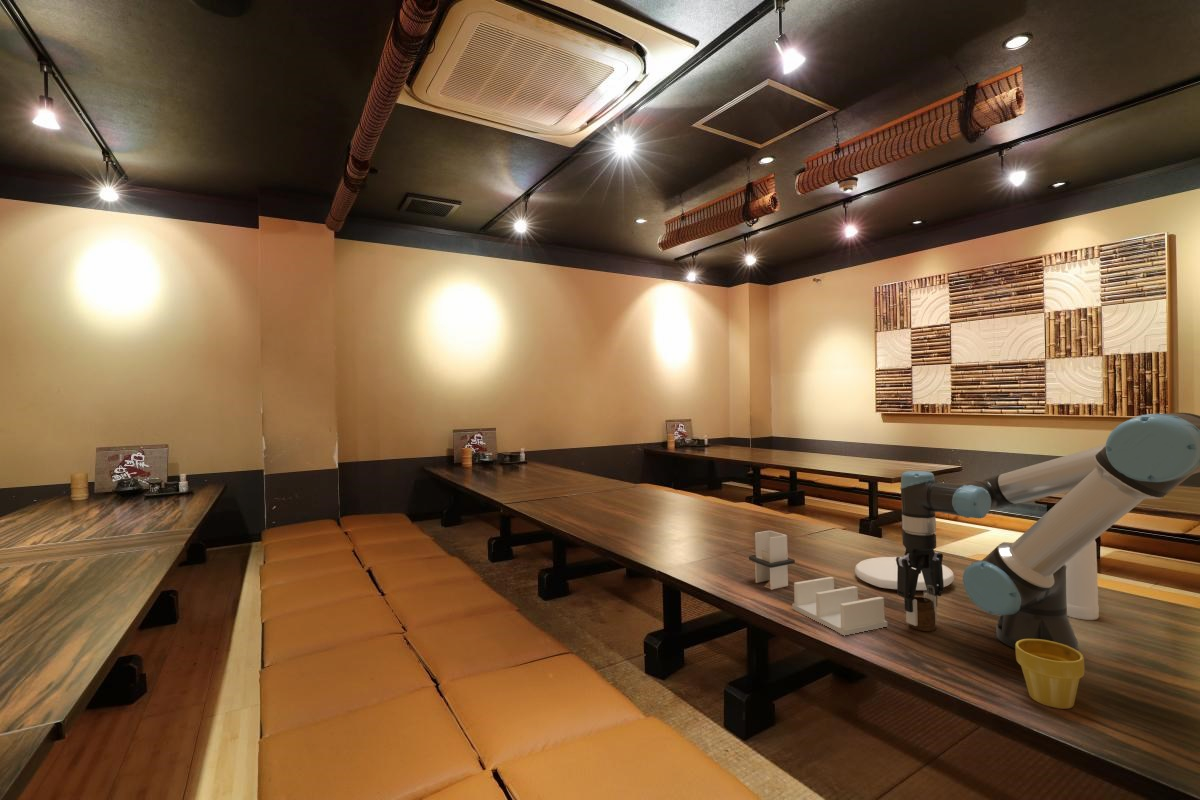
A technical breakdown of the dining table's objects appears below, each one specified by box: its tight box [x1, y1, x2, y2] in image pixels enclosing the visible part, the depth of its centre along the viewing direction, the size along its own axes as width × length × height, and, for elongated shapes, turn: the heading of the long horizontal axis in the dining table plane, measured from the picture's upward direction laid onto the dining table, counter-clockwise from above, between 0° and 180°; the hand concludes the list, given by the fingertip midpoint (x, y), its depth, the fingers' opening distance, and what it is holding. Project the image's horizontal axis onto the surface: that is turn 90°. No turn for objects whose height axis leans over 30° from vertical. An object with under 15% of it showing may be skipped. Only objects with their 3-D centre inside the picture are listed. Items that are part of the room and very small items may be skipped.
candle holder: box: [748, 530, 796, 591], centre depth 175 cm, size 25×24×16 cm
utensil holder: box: [908, 585, 936, 632], centre depth 140 cm, size 6×6×12 cm
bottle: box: [1065, 539, 1100, 621], centre depth 145 cm, size 8×8×30 cm
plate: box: [854, 556, 955, 591], centre depth 175 cm, size 28×6×27 cm
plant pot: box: [1014, 639, 1085, 710], centre depth 106 cm, size 10×10×10 cm
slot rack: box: [791, 576, 889, 637], centre depth 147 cm, size 20×14×8 cm
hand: (921, 621), depth 140 cm, fingers closed on utensil holder, 6 cm apart
